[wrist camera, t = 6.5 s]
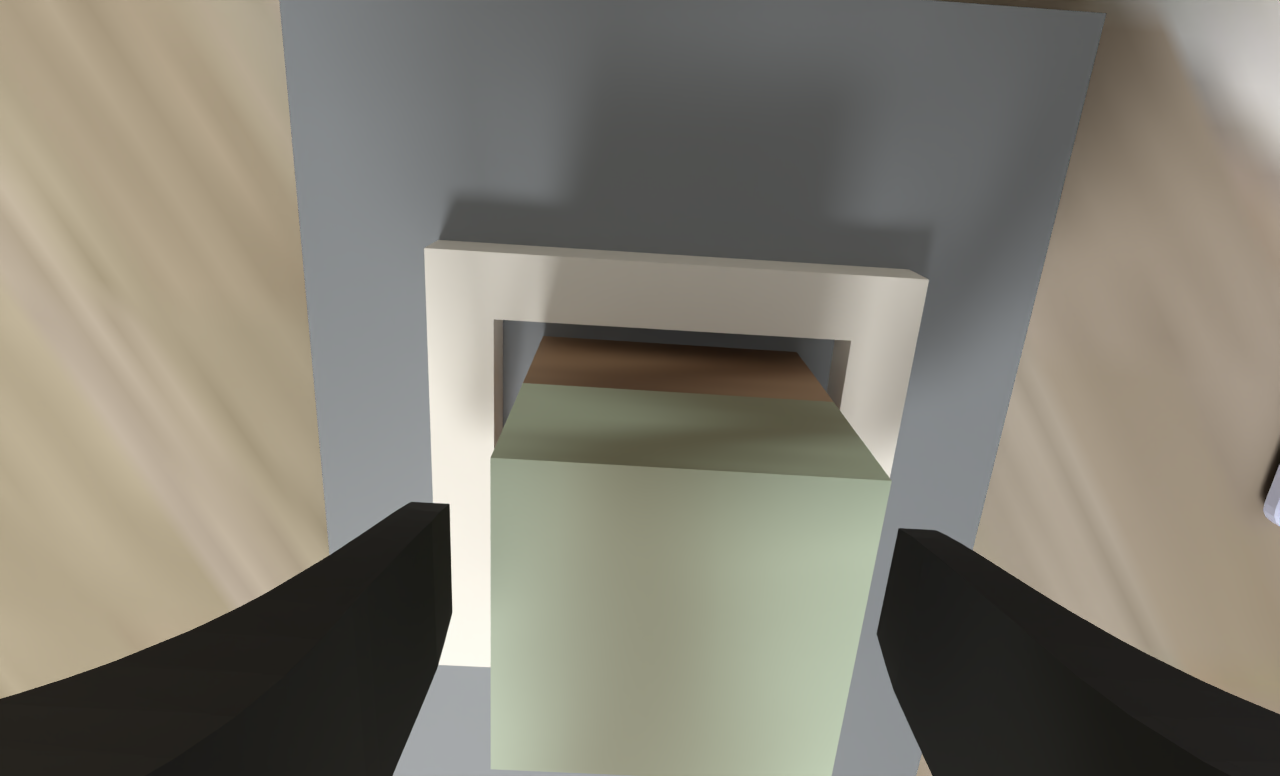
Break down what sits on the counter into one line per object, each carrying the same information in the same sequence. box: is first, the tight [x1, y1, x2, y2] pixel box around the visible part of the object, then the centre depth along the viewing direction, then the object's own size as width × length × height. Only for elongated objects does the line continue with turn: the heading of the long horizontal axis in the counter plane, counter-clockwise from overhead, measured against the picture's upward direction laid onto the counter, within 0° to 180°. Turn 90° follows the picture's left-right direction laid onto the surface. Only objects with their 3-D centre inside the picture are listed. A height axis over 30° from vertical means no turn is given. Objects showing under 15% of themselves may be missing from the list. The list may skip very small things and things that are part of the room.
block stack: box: [490, 336, 892, 776], centre depth 12 cm, size 5×5×6 cm
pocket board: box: [279, 0, 1106, 776], centre depth 15 cm, size 14×18×2 cm
